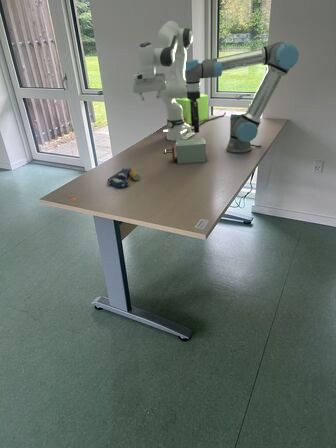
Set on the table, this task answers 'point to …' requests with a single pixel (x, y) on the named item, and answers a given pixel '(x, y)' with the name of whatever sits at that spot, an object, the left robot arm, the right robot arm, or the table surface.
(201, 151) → the green drawer cabinet
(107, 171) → the table surface
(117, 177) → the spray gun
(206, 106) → the lime green box
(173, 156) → the drawer
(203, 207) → the table surface
